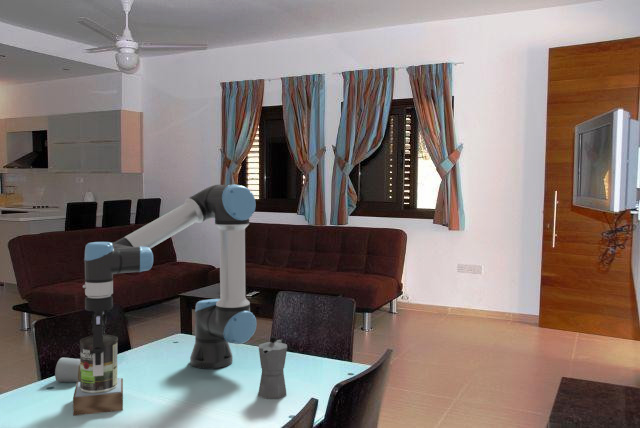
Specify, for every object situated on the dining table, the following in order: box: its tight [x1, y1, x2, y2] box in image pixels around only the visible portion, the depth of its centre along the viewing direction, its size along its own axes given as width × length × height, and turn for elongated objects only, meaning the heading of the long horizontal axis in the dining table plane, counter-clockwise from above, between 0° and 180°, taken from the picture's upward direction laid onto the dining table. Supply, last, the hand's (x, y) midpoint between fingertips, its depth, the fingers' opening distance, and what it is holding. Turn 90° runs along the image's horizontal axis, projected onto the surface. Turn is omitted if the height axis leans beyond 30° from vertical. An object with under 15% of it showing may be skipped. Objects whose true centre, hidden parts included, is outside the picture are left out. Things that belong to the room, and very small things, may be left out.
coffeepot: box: [258, 336, 288, 400], centre depth 175 cm, size 15×9×18 cm, turn 162°
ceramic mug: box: [54, 357, 80, 383], centre depth 185 cm, size 11×8×8 cm
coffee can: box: [79, 334, 119, 393], centre depth 163 cm, size 10×10×14 cm
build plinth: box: [72, 377, 124, 416], centre depth 164 cm, size 13×13×5 cm
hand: (99, 368), depth 164 cm, fingers open, 13 cm apart
